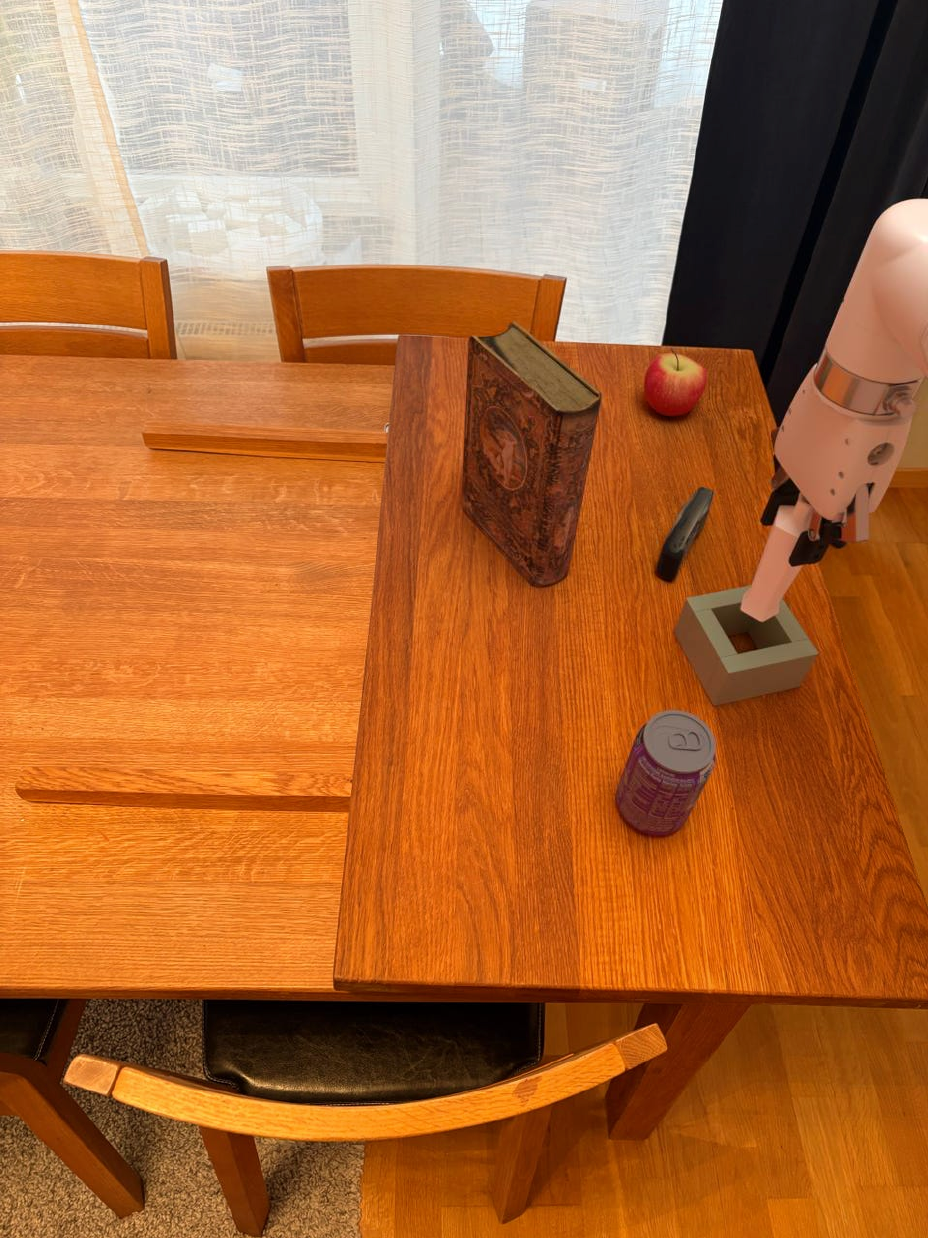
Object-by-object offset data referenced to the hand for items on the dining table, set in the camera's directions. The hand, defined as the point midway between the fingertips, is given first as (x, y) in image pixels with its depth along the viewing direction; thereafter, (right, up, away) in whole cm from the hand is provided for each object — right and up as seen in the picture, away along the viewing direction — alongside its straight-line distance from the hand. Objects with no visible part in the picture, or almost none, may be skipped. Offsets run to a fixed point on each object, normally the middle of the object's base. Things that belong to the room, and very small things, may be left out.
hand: (790, 540), depth 80 cm
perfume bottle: (0, -6, +8) cm, 10 cm away
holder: (-1, -12, +14) cm, 19 cm away
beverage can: (-12, -25, +3) cm, 28 cm away
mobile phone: (-3, +2, +26) cm, 26 cm away
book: (-24, +2, +25) cm, 35 cm away
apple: (-1, +23, +43) cm, 48 cm away
